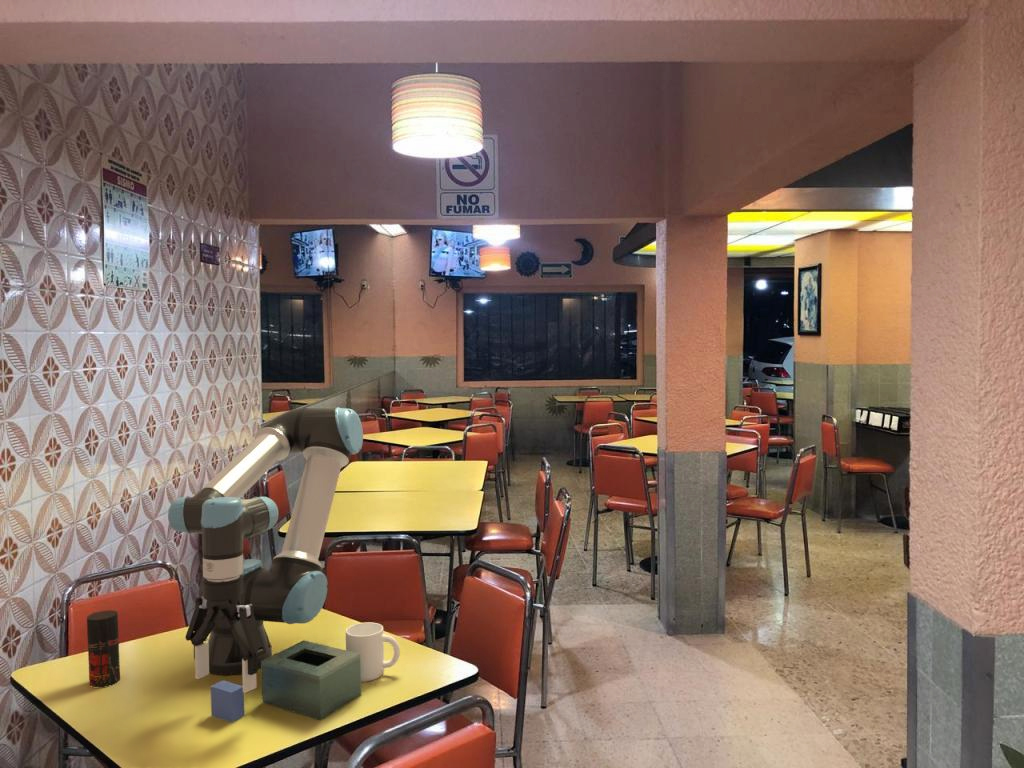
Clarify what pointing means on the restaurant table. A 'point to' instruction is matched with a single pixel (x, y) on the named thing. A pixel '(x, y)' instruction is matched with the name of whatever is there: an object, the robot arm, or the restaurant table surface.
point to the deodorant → (103, 648)
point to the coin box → (311, 679)
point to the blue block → (227, 701)
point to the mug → (370, 648)
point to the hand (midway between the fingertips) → (225, 683)
